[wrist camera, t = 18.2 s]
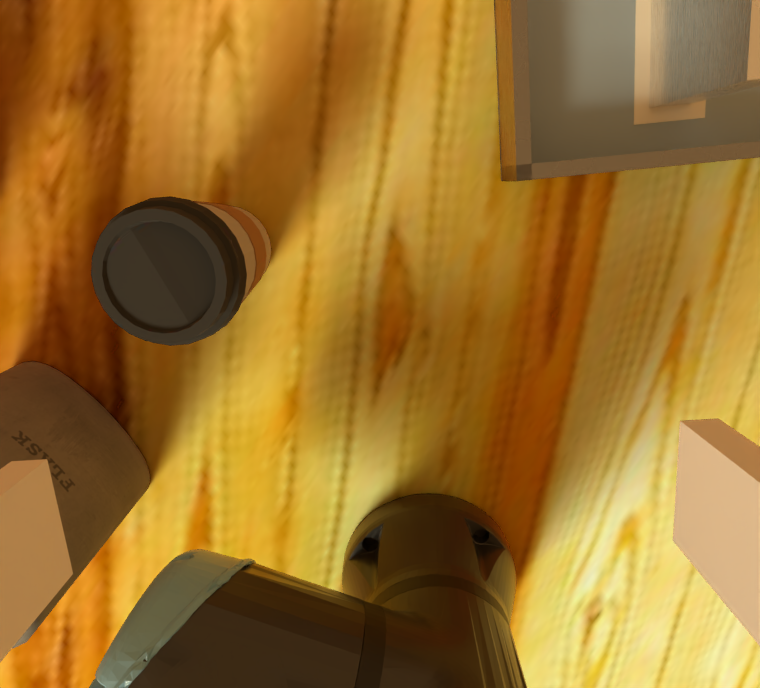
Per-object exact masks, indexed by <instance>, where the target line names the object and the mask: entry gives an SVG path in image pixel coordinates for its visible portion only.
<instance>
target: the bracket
mask: <svg viewBox="0 0 760 688" xmlns="http://www.w3.org/2000/svg"><path fill="white" fill-rule="evenodd" d="M758 86H760V0H652V5H651V48H650V91H649V108H654V107H663V106H673V105H683V104H692V103H696V102H700V101H704V100H708V99H712V98H716V97H720V96H723V95H727V94H731V93H735V92H739V91H743V90H747V89H751V88H755V87H758Z"/></svg>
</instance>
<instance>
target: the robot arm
mask: <svg viewBox="0 0 760 688" xmlns="http://www.w3.org/2000/svg"><path fill="white" fill-rule="evenodd" d="M673 541H674V543H675V544H676V545H677V546H678V547H679V549H680V550H681V551H682V552H683V553H684V555H685V556H686V557H687V558H688V559H689V561H690V562H691V563H692V564H693V566H694V567H695V568H696V569H697V570H698V572H699V573H700V574H701V575H702V576H703V578H704V579H705V580H706V581H707V583H708V584H709V585H710V586H711V587H712V589H713V590H714V591H715V592H716V593H717V595H718V596H719V597H720V598H721V600H722V601H723V602H724V603H725V604H726V606H727V607H728V608H729V609H730V610H731V612H732V613H733V614H734V615H735V617H736V618H737V619H738V620H739V621H740V623H741V624H742V625H743V626H744V627H745V629H746V630H747V631H748V632H749V634H750V635H751V636H752V637H753V638H754V640H755V641H756V642H757V643H758V644H759V646H760V447H759V446H758V445H756V444H755V443H753V442H752V441H750V440H749V439H747V438H746V437H744V436H743V435H742V434H740V433H739V432H737V431H736V430H734V429H733V428H731V427H730V426H728V425H727V424H725V423H724V422H722V421H721V420H719V419H703V420H686V421H680V430H679V447H678V464H677V481H676V497H675V514H674V531H673ZM72 574H73V571H72V567H71V562H70V558H69V553H68V549H67V544H66V540H65V536H64V531H63V527H62V522H61V518H60V514H59V509H58V505H57V500H56V496H55V491H54V487H53V483H52V478H51V474H50V469H49V465H48V461H47V459H42V460H25V461H11V462H10V463H8V464H7V465H6V466H4V467H3V468H1V469H0V662H1V661H2V660H3V658H4V657H5V656H6V655H7V654H8V652H9V651H10V650H11V649H12V647H13V646H14V645H15V644H16V643H17V641H18V640H19V639H20V638H21V637H22V635H23V634H24V633H25V632H26V630H27V629H28V628H29V627H30V626H31V624H32V623H33V622H34V621H35V619H36V618H37V617H38V616H39V615H40V613H41V612H42V611H43V610H44V609H45V607H46V606H47V605H48V604H49V602H50V601H51V600H52V599H53V598H54V596H55V595H56V594H57V593H58V591H59V590H60V589H61V588H62V587H63V585H64V584H65V583H66V582H67V581H68V579H69V578H70V577H71V576H72ZM342 587H343V593H341V592H338V591H335V590H332V589H329V588H326V587H323V586H320V585H317V584H314V583H311V582H307V581H305V580H302V579H299V578H296V577H293V576H290V575H287V574H284V573H282V572H279V571H276V570H273V569H270V568H267V567H264V566H262V565H259V564H256V562H255V561H254V560H252V559H244V560H241V559H237V558H233V557H229V556H225V555H222V554H218V553H215V552H211V551H208V550H202V549H197V550H190V551H187V552H185V553H183V554H181V555H179V556H177V557H176V558H174V559H173V560H172V561H171V562H170V563H169V564H168V565H167V566H166V567H165V568H164V569H163V570H162V571H161V572H160V573H159V574H158V575H157V577H156V578H155V579H154V580H153V582H152V583H151V584H150V585H149V587H148V588H147V589H146V591H145V592H144V594H143V595H142V596H141V598H140V599H139V601H138V602H137V604H136V605H135V607H134V608H133V610H132V611H131V613H130V614H129V616H128V617H127V619H126V620H125V622H124V624H123V625H122V627H121V628H120V630H119V632H118V633H117V635H116V637H115V638H114V640H113V642H112V644H111V645H110V647H109V649H108V651H107V652H106V654H105V656H104V658H103V660H102V661H101V663H100V665H99V667H98V669H97V671H96V675H95V676H96V679H94V680H93V682H92V684H91V685H90V687H89V688H527V686H526V682H525V679H524V675H523V672H522V668H521V665H520V661H519V658H518V654H517V650H516V647H515V643H514V639H513V636H512V633H511V629H510V621H511V615H512V610H513V604H514V598H515V592H516V570H515V564H514V561H513V557H512V554H511V551H510V548H509V545H508V542H507V540H506V538H505V536H504V534H503V532H502V531H501V529H500V528H499V526H498V525H497V524H496V523H495V522H494V521H493V520H492V518H490V517H489V516H488V515H487V514H486V513H485V512H483V511H482V510H481V509H479V508H478V507H476V506H474V505H472V504H470V503H468V502H466V501H464V500H461V499H458V498H455V497H451V496H446V495H440V494H418V495H411V496H406V497H402V498H399V499H396V500H393V501H391V502H389V503H387V504H385V505H383V506H381V507H379V508H378V509H376V510H375V511H373V512H372V513H371V514H370V515H368V516H367V517H366V518H365V519H364V520H363V521H362V522H361V523H360V525H359V526H358V527H357V528H356V530H355V531H354V533H353V535H352V536H351V538H350V540H349V543H348V545H347V548H346V552H345V557H344V564H343V573H342Z"/></svg>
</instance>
